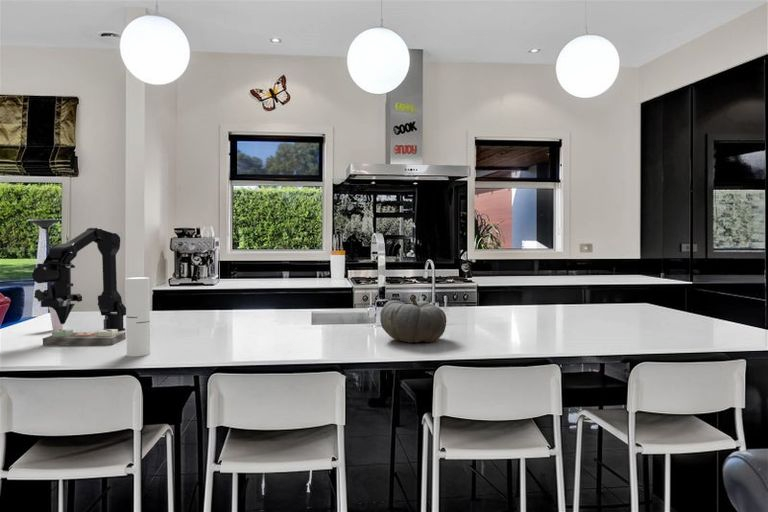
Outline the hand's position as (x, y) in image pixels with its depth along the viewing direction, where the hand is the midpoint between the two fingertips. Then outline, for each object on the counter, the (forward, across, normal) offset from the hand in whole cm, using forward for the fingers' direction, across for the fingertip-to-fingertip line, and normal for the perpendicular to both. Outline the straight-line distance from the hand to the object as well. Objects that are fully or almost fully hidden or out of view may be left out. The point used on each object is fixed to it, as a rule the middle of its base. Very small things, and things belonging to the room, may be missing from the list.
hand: (62, 323), depth 210 cm
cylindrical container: (+7, +23, +35) cm, 42 cm away
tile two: (+7, 0, 0) cm, 7 cm away
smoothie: (+7, -28, -15) cm, 33 cm away
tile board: (+7, 0, +8) cm, 10 cm away
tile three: (+7, 0, +16) cm, 17 cm away
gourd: (+7, +2, +128) cm, 128 cm away
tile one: (+8, 0, +8) cm, 11 cm away
